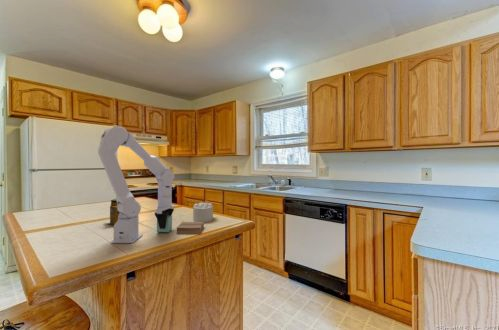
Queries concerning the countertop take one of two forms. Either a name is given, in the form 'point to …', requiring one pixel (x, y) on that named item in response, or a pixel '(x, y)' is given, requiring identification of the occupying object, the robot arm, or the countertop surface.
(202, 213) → the lumpy-topped squat cylinder
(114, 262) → the countertop surface
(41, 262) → the countertop surface
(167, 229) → the teal block
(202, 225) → the walnut base
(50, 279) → the countertop surface
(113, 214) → the condiment
